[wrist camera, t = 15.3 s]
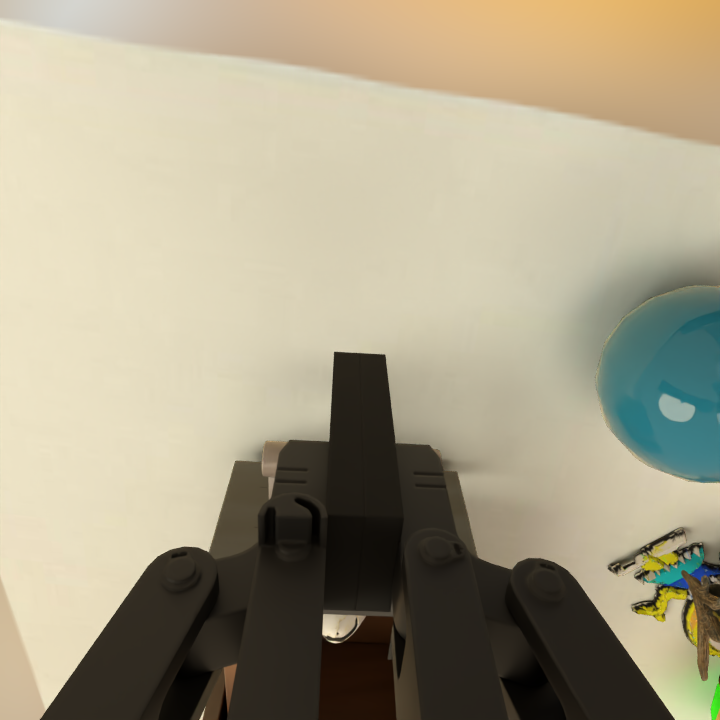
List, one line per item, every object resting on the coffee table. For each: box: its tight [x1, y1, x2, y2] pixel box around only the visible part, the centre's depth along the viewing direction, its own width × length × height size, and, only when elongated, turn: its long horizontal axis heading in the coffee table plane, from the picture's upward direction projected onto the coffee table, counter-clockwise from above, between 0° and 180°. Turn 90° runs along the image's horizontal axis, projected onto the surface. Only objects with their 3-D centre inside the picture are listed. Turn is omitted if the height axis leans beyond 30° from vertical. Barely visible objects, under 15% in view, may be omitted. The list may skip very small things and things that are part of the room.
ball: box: [595, 285, 720, 483], centre depth 23 cm, size 8×8×8 cm
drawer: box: [209, 441, 478, 720], centre depth 27 cm, size 18×11×8 cm, turn 176°
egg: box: [322, 614, 366, 643], centre depth 28 cm, size 3×3×5 cm
